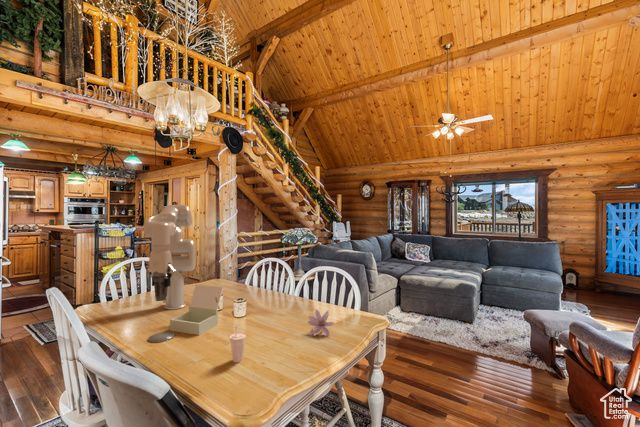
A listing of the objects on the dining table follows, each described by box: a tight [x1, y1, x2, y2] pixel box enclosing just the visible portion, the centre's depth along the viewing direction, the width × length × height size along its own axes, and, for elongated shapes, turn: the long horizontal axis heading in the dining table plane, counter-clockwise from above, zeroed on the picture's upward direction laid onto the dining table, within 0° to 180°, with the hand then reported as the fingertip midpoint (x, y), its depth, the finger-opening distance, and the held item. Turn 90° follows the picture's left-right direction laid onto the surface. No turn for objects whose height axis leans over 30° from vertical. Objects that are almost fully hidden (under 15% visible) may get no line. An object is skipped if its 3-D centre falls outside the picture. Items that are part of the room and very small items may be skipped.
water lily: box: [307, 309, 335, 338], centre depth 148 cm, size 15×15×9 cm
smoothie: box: [229, 324, 247, 363], centre depth 120 cm, size 6×6×14 cm
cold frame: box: [169, 284, 224, 336], centre depth 156 cm, size 18×19×19 cm
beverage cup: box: [153, 271, 168, 302], centre depth 142 cm, size 7×7×20 cm
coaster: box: [148, 331, 175, 344], centre depth 142 cm, size 11×11×1 cm
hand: (161, 285), depth 142 cm, fingers closed on beverage cup, 6 cm apart
